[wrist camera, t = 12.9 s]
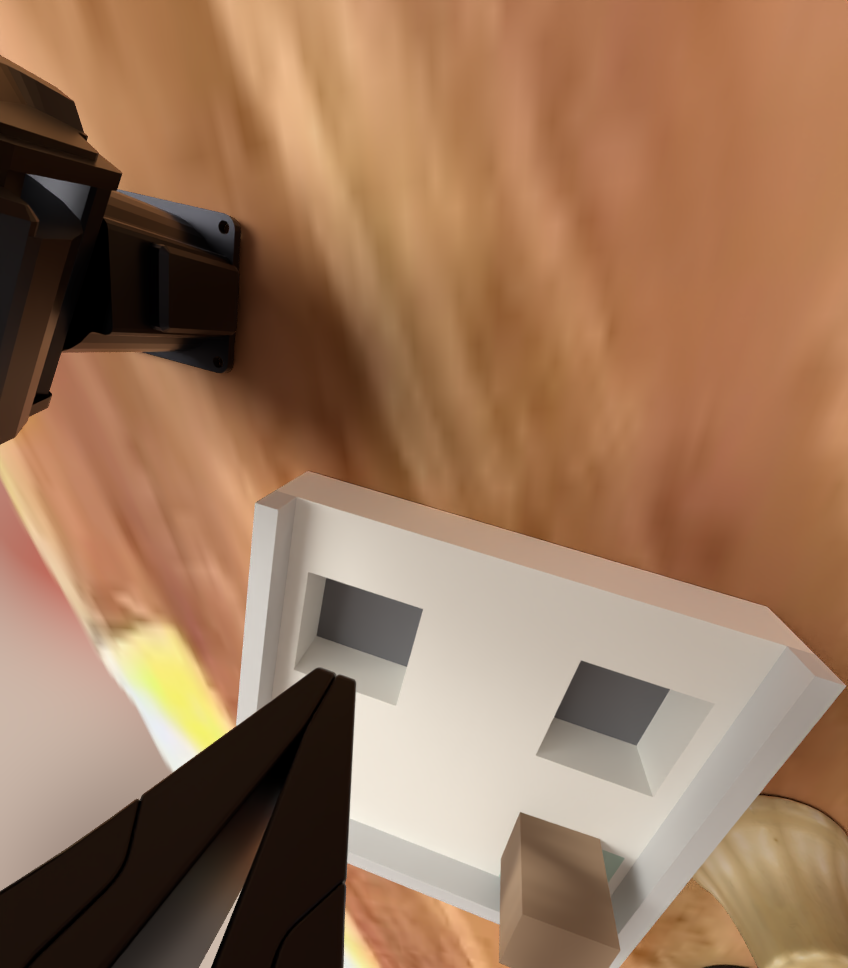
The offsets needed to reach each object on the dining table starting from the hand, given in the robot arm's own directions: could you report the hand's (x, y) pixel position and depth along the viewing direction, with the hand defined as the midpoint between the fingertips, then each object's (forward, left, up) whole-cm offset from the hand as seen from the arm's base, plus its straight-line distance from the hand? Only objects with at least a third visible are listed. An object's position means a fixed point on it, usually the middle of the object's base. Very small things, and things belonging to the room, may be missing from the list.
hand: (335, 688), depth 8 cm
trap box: (+5, -11, -12) cm, 17 cm away
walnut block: (+11, -16, -9) cm, 21 cm away
